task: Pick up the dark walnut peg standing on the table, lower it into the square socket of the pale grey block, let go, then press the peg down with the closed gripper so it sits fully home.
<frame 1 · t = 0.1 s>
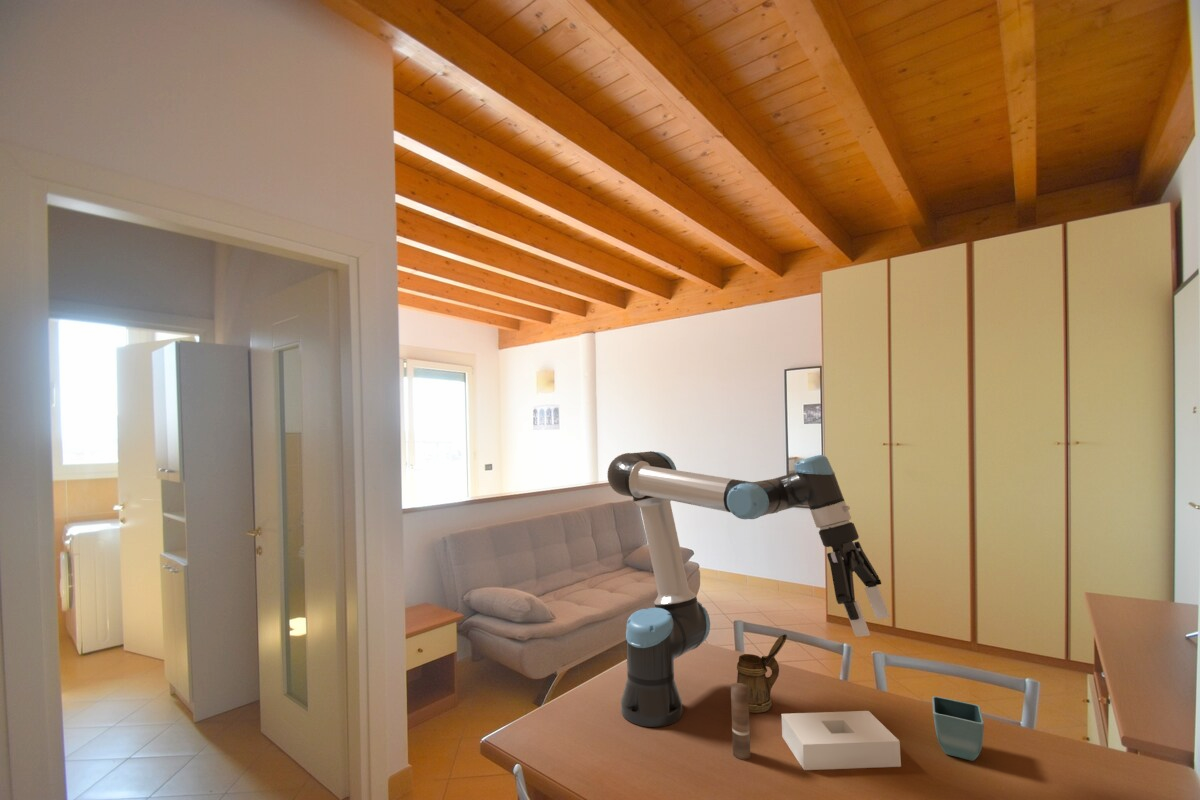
hand: (873, 626, 111), 28 cm above the table, tool tilted 20°, fingers open, 13 cm apart
wooden mug: (761, 706, 134), on the table
flower pot: (959, 753, 113), on the table
walnut peg: (741, 754, 114), on the table
socket block: (838, 750, 114), on the table
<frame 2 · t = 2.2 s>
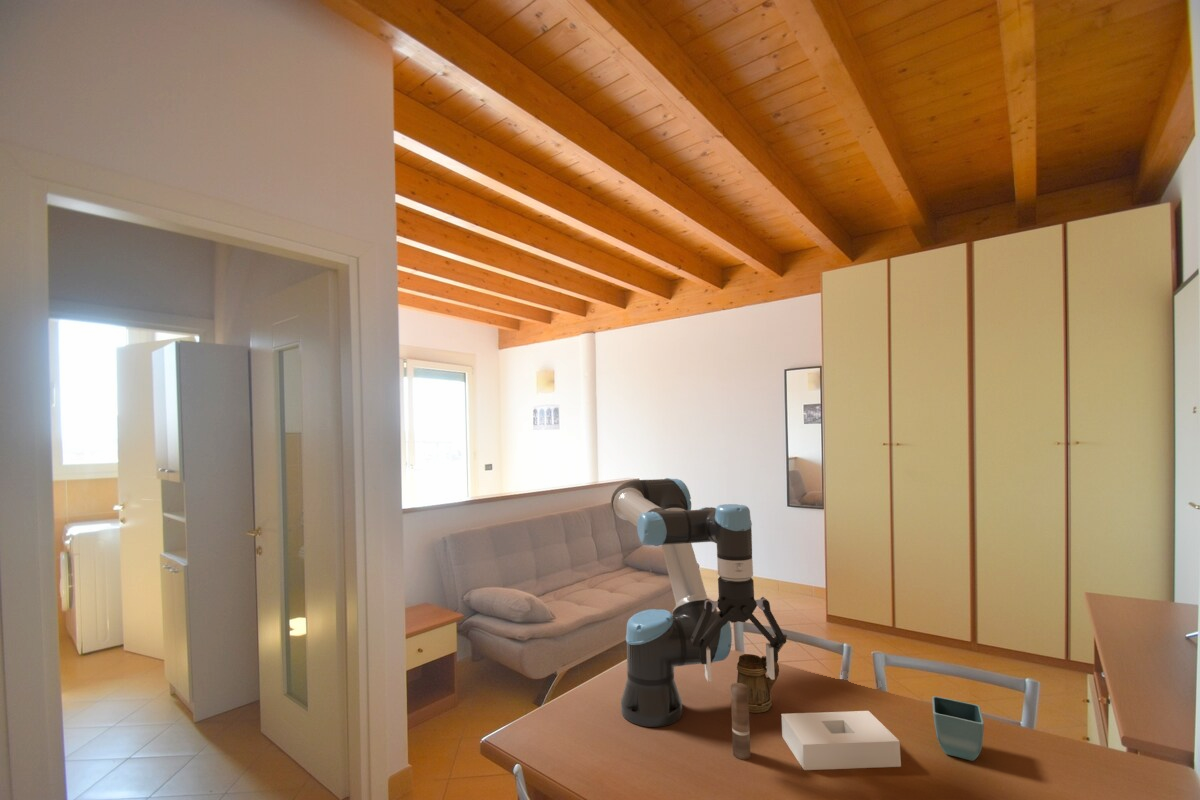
hand: (739, 678, 114), 16 cm above the table, tool pointing down, fingers open, 13 cm apart
nothing on the table moved.
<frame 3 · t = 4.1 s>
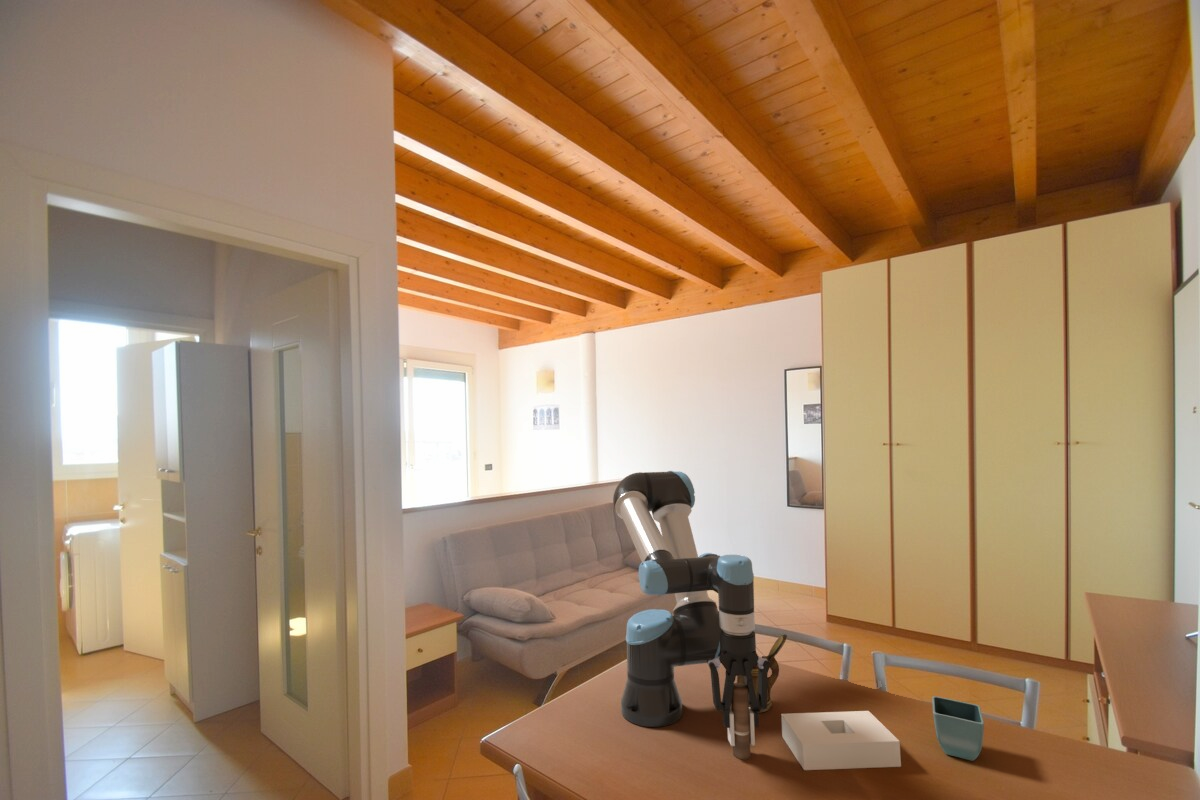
hand: (741, 741, 114), 3 cm above the table, tool pointing down, fingers closed on walnut peg, 4 cm apart
walnut peg: (741, 754, 114), on the table, touching gripper
everything else where it was.
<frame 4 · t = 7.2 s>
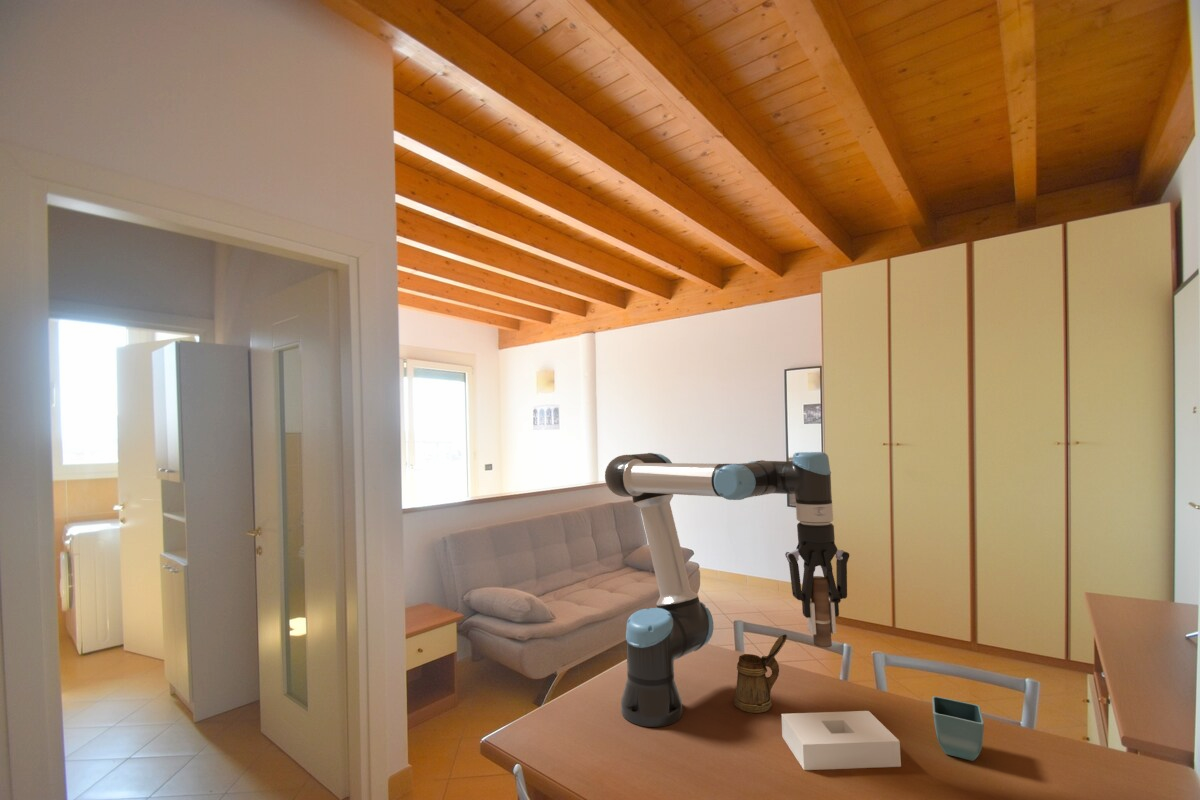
hand: (821, 631, 115), 25 cm above the table, tool pointing down, fingers closed on walnut peg, 4 cm apart
walnut peg: (822, 644, 115), point 23 cm above the table, touching gripper
everything else where it was.
when the fingers open (7 cm above the table, at t = 10.6 s): walnut peg drops 4 cm, resting in socket block.
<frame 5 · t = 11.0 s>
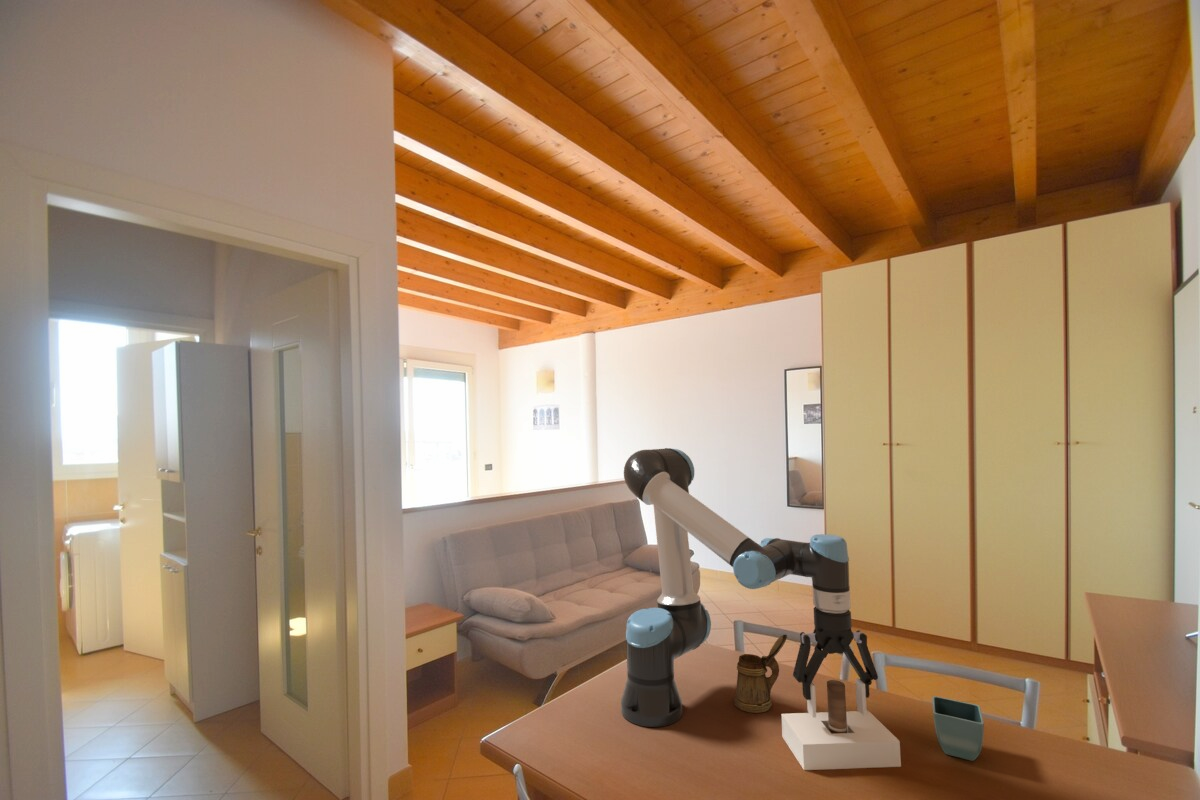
hand: (836, 713, 115), 8 cm above the table, tool pointing down, fingers open, 10 cm apart
walnut peg: (838, 751, 114), resting in socket block
everything else where it was.
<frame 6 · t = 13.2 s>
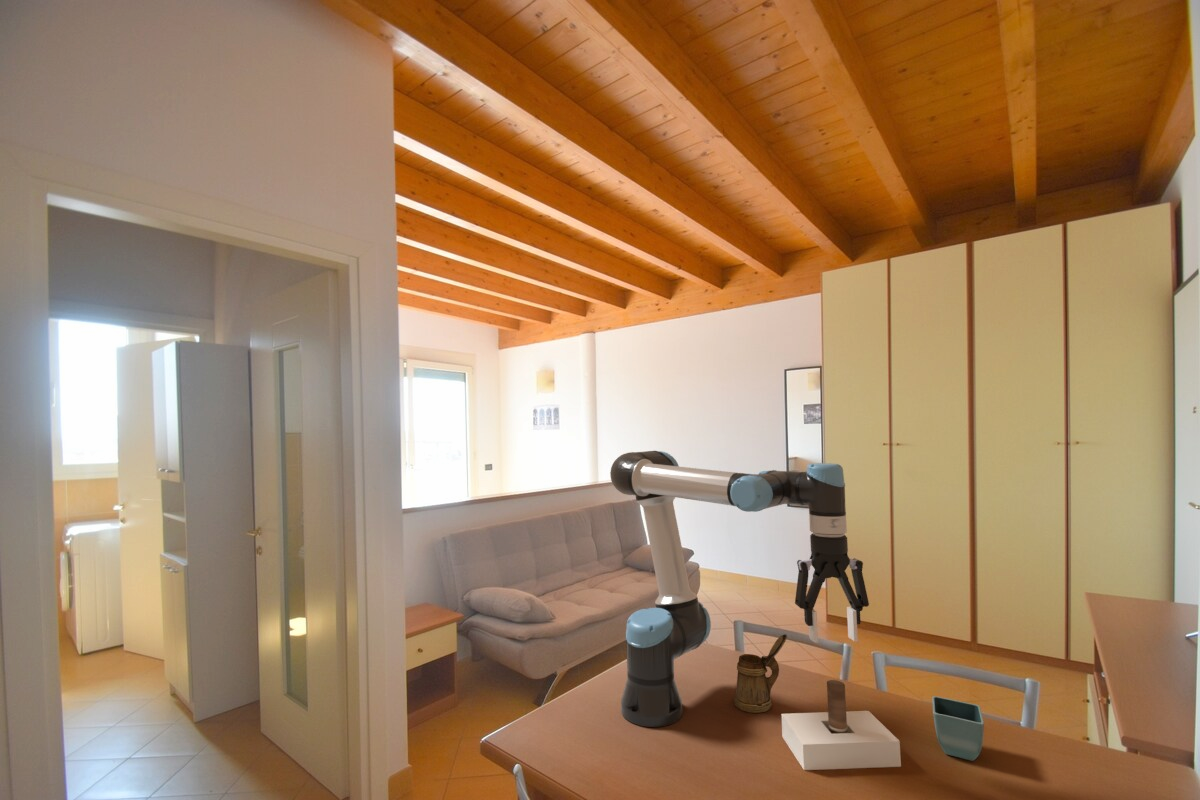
hand: (833, 639, 116), 23 cm above the table, tool pointing down, fingers open, 8 cm apart
nothing on the table moved.
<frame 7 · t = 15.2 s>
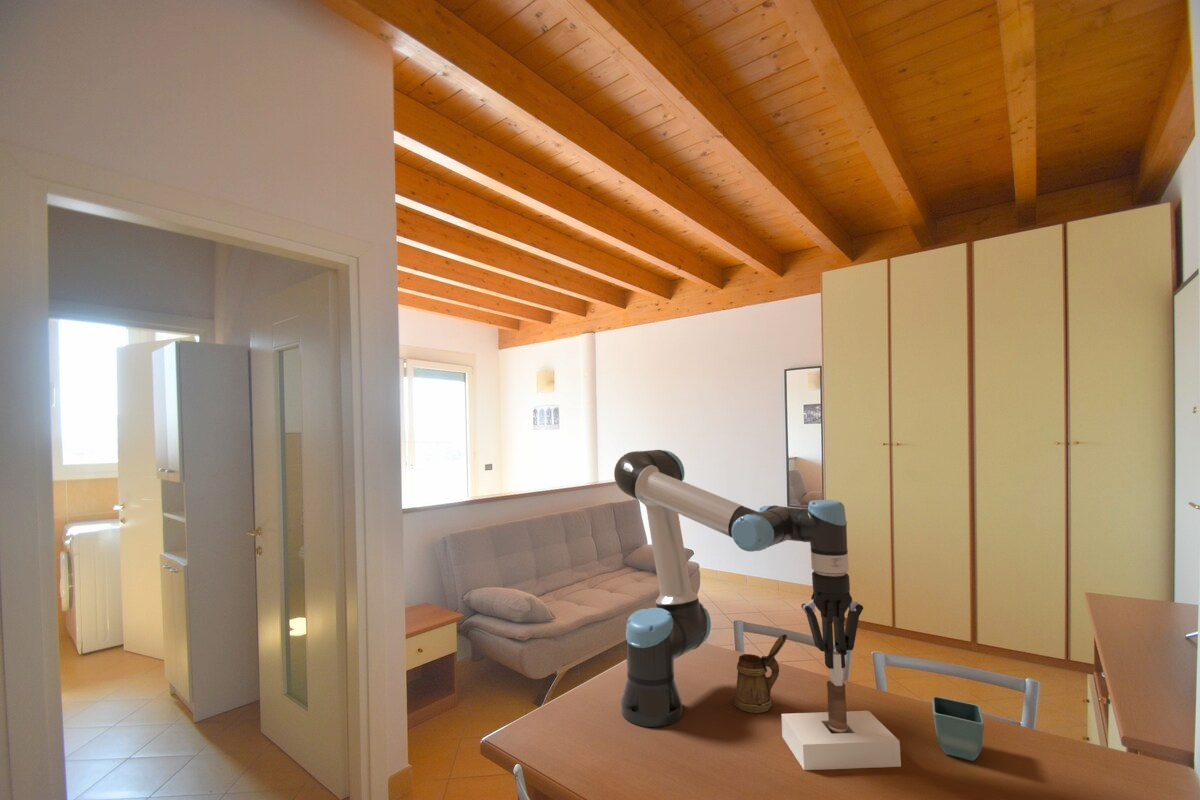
hand: (836, 683, 115), 14 cm above the table, tool pointing down, fingers closed
walnut peg: (838, 751, 114), resting in socket block, touching gripper
everything else where it was.
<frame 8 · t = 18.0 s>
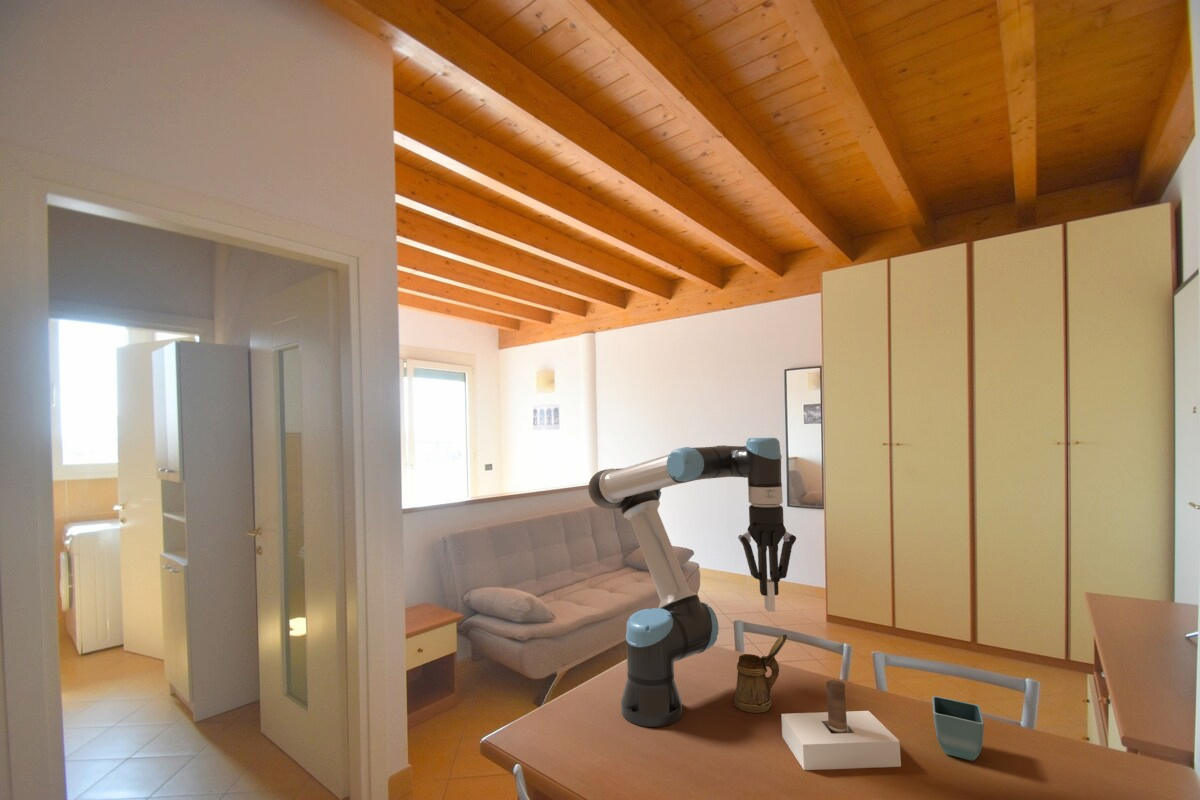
hand: (769, 609, 121), 28 cm above the table, tool pointing down, fingers closed
walnut peg: (838, 751, 114), resting in socket block
everything else where it was.
at the end: walnut peg 0.1 cm off-centre on the socket block, point 0.0 cm above the socket block's base; walnut peg tilted 0°; the gripper is holding nothing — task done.
